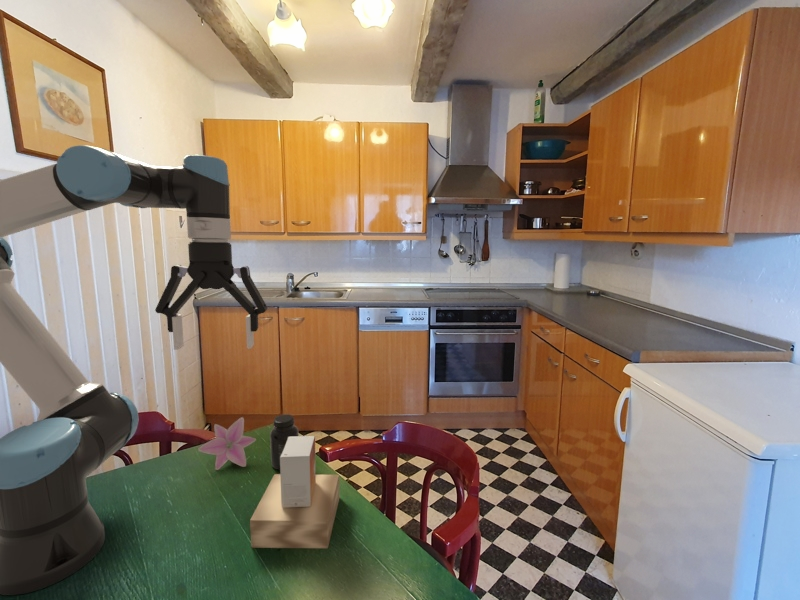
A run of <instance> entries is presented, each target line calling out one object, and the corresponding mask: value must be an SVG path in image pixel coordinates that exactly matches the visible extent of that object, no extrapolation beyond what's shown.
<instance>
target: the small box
mask: <svg viewBox="0 0 800 600" xmlns="http://www.w3.org/2000/svg"><path fill="white" fill-rule="evenodd" d="M279 472H280V473H279V474H280V478H281V505H282V508H289V507H310V506H311V502H312V497H313V492H314V488H315V483H316V475H317V474H316V473H317V471H316V436H315V435H310V436H309V435H304V436H303V435H299V436H290V437H288V439H287V442H286V445H285V447H284V450H283V452H282V454H281V456H280V470H279Z"/></svg>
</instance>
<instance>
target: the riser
mask: <svg viewBox="0 0 800 600" xmlns="http://www.w3.org/2000/svg"><path fill="white" fill-rule="evenodd" d="M339 502H340V474H316V483H315V488H314V492H313V497H312V502H311V506H310V507H289V508H282V505H281V478H280V473H274V475H273V476H272V478H271V480H270V482H269V484H268V486H267V487H266V489H265V492H263V495H262V496H261V499H260V501H259V502H258V504H257V507H256V508H255V509H254V512H253V514H252V515H251V518H250V520H249V527H250V530H249V531H250V543H251V545H250V546H251V548H255V549H256V548H259V549H260V548H261V549H265V548H267V549H269V548H270V549H328V548H329V544H330V540H331V537H332V531H333V527H334V523H335V518H336V515H337V510H338V506H339Z"/></svg>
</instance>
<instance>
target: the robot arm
mask: <svg viewBox="0 0 800 600" xmlns="http://www.w3.org/2000/svg"><path fill="white" fill-rule="evenodd" d="M228 172H229V170H228V165H227V162H226V161H224V160H223V159H221V158H218V157H216V156H210V155H202V154H193V155H191V154H188V155H186V156H184V157H183V163H182V166H178V167H177V166H175V167H172V166H156V165H149V164H147V163H145V162H142V161H138V160H136V159H132V158H129V157H127V156H123V155H121V154H119V153H118V154H117V153H115V152H113V151H110V150H108V149H106V148H102V147H96V146H92V145H91V146H90V145H85V144H84V145H73V146H70V147H68V148H66V149H65V150H64V152H63V153H62V154H61V155H60V156H59V157H58V158H57V162H56V163H54V164H51V165H47V166H43V167H40V168H38V169H33V170H30V171H27V172H24V173H20V174H17V175H13V176H10V177H7V178H3V179H0V364H1V365H2V366H3V367H4V368H5V370H6V371H7V372H8V373H9V375H11V377H12V378H13V380H15V381H16V383H17V384H18V385H19V386H20V388H21V389H22V390H23V391H24V393H25V394H26V395H27V396H28V397H29V398H30V400H31V401H32V402H33V403H34V405H36V407H37V408H38V409H39V413H38V416H37V419H36V421H34V422H33V421H32V423H31V424H27V425H22V426H19V427H17V428H15V429H13V430H11V431H10V432H7V433H6V434H5V435H3V436H2V437H0V595H3V596H16V595H23V594H29V593H33V592H36V591H38V590H41V589H44V588H47V587H50V586H52V585H54V584H56V583H58V582H61V581H63V580H64V579H66V578H68V577H70V576H72V575H73V574H75V573H76V572H77V571H80V569H82V568H84V567H85V566H86V565H87V564H88V563H89V562H91V561H92V560H93V559H94V557H96V556H97V554H98V553H99V552H100V550H101V549H102V547H103V545H104V544H105V540H106V532H105V525H104V523H103V521H102V520H101V519H100V517H98V514H97V513H96V511H95V509H94V508H93V507H92V505H91V504H90V502H89V497H88V489H87V487H88V486H87V477H88V476H90V475H91V474H92V473H93V472H94V471H96V470H97V469H98V468H99V467H100V466H102V464H104V463H105V462H106V461H107V460H108V459H109V458H110V457H112V456H113V455H114V454H116V453H117V452H119V451H120V450H121V449H123V448H124V447H125V446H126V444H127V443H128V442H129V441H130V439H132V438H133V437H134V435H135V433H136V432H137V429H138V425H139V421H140V419H139V411H138V409H137V407H136V405H135V403H134V402H133V400H131V399H130V398H129V397H128V396H127V395H125V394H119V393H118V392H109V391H108V390H107V388H106V387H105V386H104V384H103V383H99V382H90V381H89V380H88V379H87V378H86V376H85V375H84V374H83V373H82V372H81V369H79V368H78V366H77V365H76V364H75V363H74V361H73V360H72V359H71V358H70V356H69V355H68V354H67V353H66V352H65V350H64V349H63V347H62V346H61V345H60V344H59V343H58V341H56V339H55V338H54V337H53V335H52V334H51V333H50V331H49V330H48V329H47V328H46V326H45V325H44V323H42V321H41V320H40V319H39V318H38V316H37V315H36V314H35V312H34V311H33V310H32V308H31V307H30V306H29V305H28V304H27V303H26V301H25V300H24V299H23V297H22V296H21V295H20V294H19V293H18V290H16V289H15V288H14V286H13V285H12V281H13V278H14V276H15V272H14V270H13V269H12V268H11V267H12V265H13V262H14V259H13V258H12V256H13V254H14V253H13V250H12V247H11V245H10V244H9V242H8V241H7V239H6V238H5V237H6V236H7V237H8V236H10V235H13V234H17V233H19V232H24V231H27V230H29V229H33V228H36V227H40V226H43V225H46V224H48V223H52V222H55V221H58V220H62V219H65V218H68V217H72V216H74V215H78V214H80V213H85V212H87V211H92V210H95V209H98V208H102V207H104V206H107V205H111V204H119V205H122V206H124V207H131V208H132V207H133V208H137V209H138V208H140V209H147V208H149V209H150V208H153V209H180V210H181V209H182V210H183V209H185V211H186V227H187V228H186V229H187V238H188V239H190V240H191V241H189V242H188V244H187V248H188V260H189V261H188V262H189V264H188V266H184V265H181V264H176V265H172V266H171V269H170V278H169V279H168V282H167V284H166V286H165V288H164V291H163V292H162V295H161V297H160V299H159V301H158V303H157V305H156V307H155V310H154V311H155V313H157V314H162V315H165V316H166V321H167V322H166V323H167V331H168V333H172V336H173V338H172V339H173V350H175V351H179V350H180V349H181V348H183V347H185V344H184V331H183V330H184V329H183V328H184V327H183V315H182V314H178V313H179V311H180V310H181V309H182V308H183V307H184V305H185V304H186V303H187V302H188V301H189V300H190V298H191V297H192V296H193V295H194V294H195V292H197V291H198V290H199V288H200V289H202V290H208V289H213V290H220V289H224V290H225V291H226V292H228V293H229V294H230V295H231V297H232V298H233V299H234V300H235V301H237V304H239V305H240V306H241V307H242V308H243V309H244V310H245V312H247V313H248V314H247V315H246V316H245V327H246V328H245V329H246V330H245V331H246V349H248V350H249V349H252V348H253V346H254V345H255V343H254V339H255V338H254V337H255V335H254V332H257V331H258V329H259V315H261V314H264V313H266V311H268V305H267V304H266V302H265V300H264V299H263V297H262V295H261V293H260V291H259V289H258V288H257V285H256V284H255V282H254V280H253V279H252V277H251V270H250V267H249V266H248V265H243V266H241V267H234V266H233V256H232V255H233V253H232V252H233V251H232V244H231V242H229V240H231V239H232V232H231V231H232V230H231V227H232V226H231V215H230V213H231V211H230V209H231V207H230V202H231V201H230V186H231V185H230V182H229V181H230V179H229V173H228ZM235 274H236V275H237V278H239V279H241V281H242V283H243V285H244V287H245V288H246V290H247V292H248V294H249V295H250V298H251V299H252V301H253V302H254V304H255V305H254V304H253V303H252V302H251V301H250V300H249V299H248V297H247V296H246V295H245V293H243V292H242V290H241V289H239V288H238V286H237V284H235V282H234V281H233V280H232V278H233V277H234V275H235ZM186 275H189V277H190V278H191V279H192V280H191V282H189V284H188V285H187V286H186V288H185V289H184V291H183V292H182V293H181V294H180V295H179V296H178V297H177V299H176V300H175V301H174V302H173V303H172V305H170V304H171V302H172V301H173V299H174V297H175V294H176V292H177V290H178V287H179V286H180V285H181V281H182V278H184V277H186Z"/></svg>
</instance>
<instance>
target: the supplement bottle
mask: <svg viewBox="0 0 800 600" xmlns="http://www.w3.org/2000/svg"><path fill="white" fill-rule="evenodd" d="M294 419H295V418H294V416H293V415H292V414H288V413H287V414H280V415H277V416H275V417H274V419H273V428H272V429H271V431H270V433H269V441H270V460H271V461H270V463H271V466H272V467H273V468H274V469H275V470H279V471H280V456H281V454H282V452H283V450H284V447H285V445H286V442H287V439H288V437H290V436H300V435H299V428H298V426H296V425H295V420H294Z"/></svg>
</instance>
